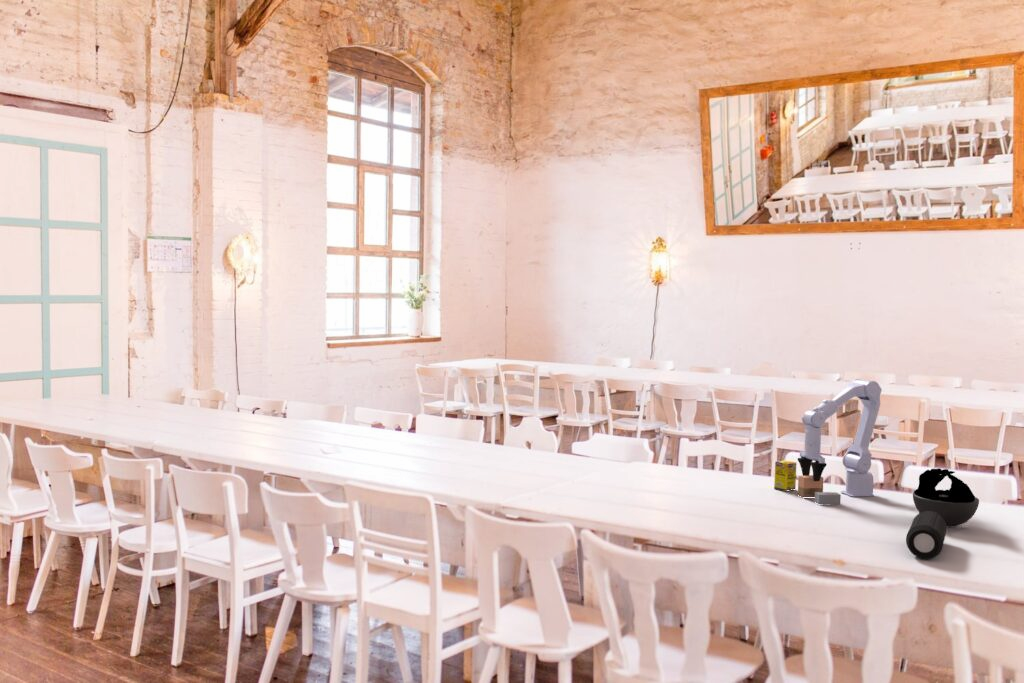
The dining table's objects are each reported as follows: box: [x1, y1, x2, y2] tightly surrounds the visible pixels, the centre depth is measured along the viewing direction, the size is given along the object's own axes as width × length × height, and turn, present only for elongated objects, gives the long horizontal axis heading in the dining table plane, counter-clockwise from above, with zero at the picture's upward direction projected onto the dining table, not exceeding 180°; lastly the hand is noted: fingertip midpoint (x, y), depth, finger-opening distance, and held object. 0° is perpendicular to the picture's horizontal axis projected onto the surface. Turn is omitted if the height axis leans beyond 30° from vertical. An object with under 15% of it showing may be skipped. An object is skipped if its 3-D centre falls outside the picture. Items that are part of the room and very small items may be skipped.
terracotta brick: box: [797, 474, 824, 489], centre depth 350 cm, size 8×4×4 cm, turn 103°
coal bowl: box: [912, 468, 980, 528], centre depth 309 cm, size 20×20×19 cm
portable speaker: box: [905, 511, 948, 560], centre depth 280 cm, size 26×10×10 cm, turn 152°
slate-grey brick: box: [814, 491, 842, 506], centre depth 339 cm, size 8×4×4 cm, turn 93°
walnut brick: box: [797, 485, 824, 497], centre depth 350 cm, size 8×4×4 cm, turn 102°
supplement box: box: [773, 459, 797, 491], centre depth 362 cm, size 6×6×11 cm
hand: (811, 478), depth 350 cm, fingers open, 7 cm apart
